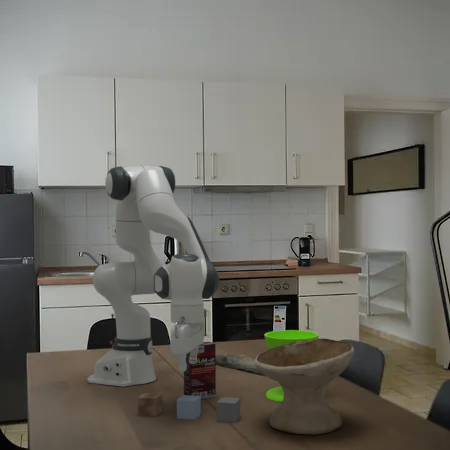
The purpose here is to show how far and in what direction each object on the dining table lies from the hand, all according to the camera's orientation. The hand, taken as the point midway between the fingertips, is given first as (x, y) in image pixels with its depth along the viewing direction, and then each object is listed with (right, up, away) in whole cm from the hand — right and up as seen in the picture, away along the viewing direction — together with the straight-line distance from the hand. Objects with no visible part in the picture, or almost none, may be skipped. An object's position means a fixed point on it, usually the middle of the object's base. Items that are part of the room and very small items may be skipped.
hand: (188, 366), depth 178 cm
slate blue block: (0, -13, 0) cm, 13 cm away
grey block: (+11, -13, -3) cm, 17 cm away
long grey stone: (+17, -13, +57) cm, 61 cm away
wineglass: (+30, -13, +20) cm, 38 cm away
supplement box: (+3, -13, +19) cm, 23 cm away
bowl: (+30, -13, -8) cm, 34 cm away
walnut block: (-10, -13, +3) cm, 17 cm away
